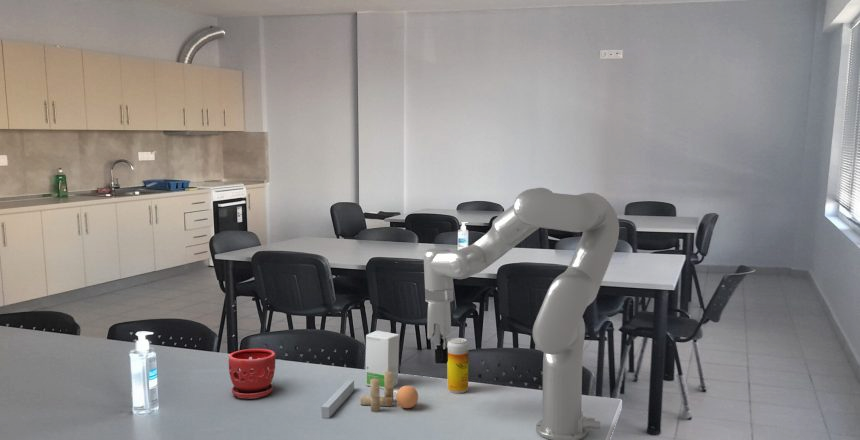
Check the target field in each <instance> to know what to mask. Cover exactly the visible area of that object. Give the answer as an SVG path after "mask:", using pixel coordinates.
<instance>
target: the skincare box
mask: <svg viewBox="0 0 860 440" xmlns="http://www.w3.org/2000/svg"><path fill="white" fill-rule="evenodd" d="M399 353H400V334H398V333H392V332H388V331H382V330H375V331H373V332H370V333H367V334H366V335H365V375H364V376H365V377H364V378H365V380H364V381H365V382H364V384H365V386H367V387H371V385H370V380H371V379H374V378H377V379H379V389H382V390H385V384H384V372H385V371H393V387H395V386H397V385H398V384H399V365H400V364H399V363H400V362H399V361H400V360H399V359H400V358H399V357H400V356H399V355H400V354H399Z"/></svg>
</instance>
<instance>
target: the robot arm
mask: <svg viewBox="0 0 860 440" xmlns="http://www.w3.org/2000/svg"><path fill="white" fill-rule="evenodd" d="M540 228H541V229H549V230H555V231H556V230H557V231H563V232H570V233H581V232H582V235H581V238H580V240H579V241H578V243H577V245H576V246H575V247H576V248H575V250H574V252H573V255H572V258H571V260H570V262H569V264H568V266H567V269H566V270H565V271H564V272H562V273H561V274H559V275H558V276H557V277H555V279H553V281H552V283H551V284H550V286H549V288H548V289H547V292H546V294H545V296H544V299H543V302H542V303H541V306H540V308H539V311H538V313H537V316H536V319H535V320H534V323H533V326H532V339H533V342H534V344H535V346H536V347H537V349H538V350H540V351H541V352H543V358H542V359H543V360H542V401H541V402H542V410H541V411H542V414H541V415H542V417H541V420H540V421H538V422H537V423H536V425H535V432H536V433H537V434H538V435H540V437H543V438H545V439H548V440H582V439H584V438H586V436H587V435H588V429H593V430H594V429H595V430H601V421H600V420H596V418H595V417H586V416H584V415H583V414H584V413H583V410H582V407H583V406H582V404H583V401H582V397H583V395H582V394H583V391H582V390H583V389H582V387H583V358H584V357H583V356H584V355H583V354H584V346H585V344H584V343H585V336H586V335H585V334H586V323H585V321H584V318H583V315H584V314H585V311H586V309H587V308H588V306H590V305H591V304H592V303H594V301H595V299H596V298H597V295H598V293H599V291H600V288H601V285H602V282H603V280H604V277H605V275H606V273H607V270H608V268H609V265H610V263H611V259H612V257H613V256H614V253H615V249H616V247H617V244H618V242H619V241H618V240H619V235H620V221H619V217H618V215H617V212H616V210H615V208H614V207H613V205H612V203H610V201H608V200H607V198H605V197H604V196H602V195H600V194H598V193H595V192H584V193H580V194H569V193H568V194H567V193H557V192H553V191H552V190H550V189H549V188H546V187H534V188H528V189H526V190H522V192H520V193H519V194H518V195H517V196H516V198H515V200H514V202H513V204H512V205H511V206H510V207H508V208H507V209H506V210H504V211H503V212H502V213H501V214H499V215H498V216H497V217H495V218H494V219H493V220H492V224H491V228H490V229H489V230H488V231H487V232H486V233H485V234H484V235H482V236H481V237H480V238H479V239H477V240H476V241H475V242H473V243H472V244H470V245H468V246H466V247H463V248H460V249H457V250H456V249H455V250H450V249H448V248H443V247H441V248H440V247H434V248H429V249H426V250H425V251H424V252H423V271H424V272H423V275H424V296H425V297H424V298H425V302H426V303H428V304H427V319H426V320H427V329H426V330H427V339H428V340H429V341H430V340H432V338H434V359H435V360H434V361H435V364H444V365H445V364H447V362H448V347H447V344H448V336H449V335H450V333H451V331H452V317H451V315H452V313H451V302H453V301H455V300H454V299H455V298H454V281H453V280H454V279H455V280H456V279H457V280H463V279H467V278H470V277H472V276H474V275H477V274H479V273H481V272H483V271H484V270H485V269H487V268H489V267H490V266H491V265H493V264H494V263H495V262H497V261H498V260H499V259H501V258H502V257H503V256H504V255H506V254H507V253H508V252H510V251H511V250H512V249H514V247H516V246H517V245H518V244H520V243H521V242H523V241H524V240H525V239H526V238H527V237H529V236H530V235H532V234H533V233H534V232H535V231H538V230H539V229H540Z"/></svg>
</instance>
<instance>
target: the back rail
mask: <svg viewBox="0 0 860 440" xmlns="http://www.w3.org/2000/svg"><path fill="white" fill-rule="evenodd" d="M354 391H355V379H347V380H345V382H344V383H343V384H342V385H341V386H340V387H339V388H338V389H337V390H336V391H335V392H334V393H333V394H331V396H330V398H329V397H328V399H327V400H326V401H325V402H324V403H323V404H322V405H321V418H322V419H330V418H331V417H332V416H333V414H334V413H335V412H336V411H337V410H338V409H339V407H340V406H341V405H342V404H343V403H344V402H345V401H346V400H347V399H348V397H350V395H351V394H352V393H353V392H354Z"/></svg>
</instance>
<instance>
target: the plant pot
mask: <svg viewBox="0 0 860 440" xmlns="http://www.w3.org/2000/svg"><path fill="white" fill-rule="evenodd" d="M250 358H251V359H250ZM275 369H276V353H275V351H273V350H271V349H266V348H248V349H242V350H237V351H233V352H231V353H230V354H229V355H228V372H229V377H230V380H231V381H230V382H231V383H232V385H233V387H232V388H231V393H232V394H233V395H234V396H235V397H237V398H240V399H245V400H246V399H247V400H252V399H258V398H263V397H265V396H267V395H269V394H270V393H271V392H272V391H273V389H274V386H273V384H272V381H273V379H274V377H275V376H274V375H275V371H276V370H275Z"/></svg>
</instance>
